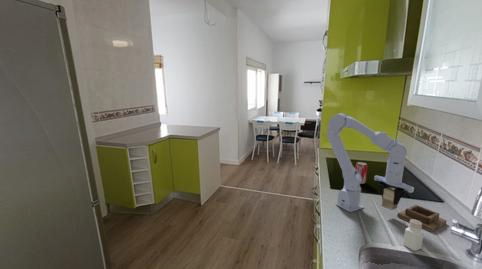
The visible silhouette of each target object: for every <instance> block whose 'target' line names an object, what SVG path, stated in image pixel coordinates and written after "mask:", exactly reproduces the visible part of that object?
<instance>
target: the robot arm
mask: <svg viewBox="0 0 482 269" xmlns="http://www.w3.org/2000/svg"><path fill="white" fill-rule="evenodd" d="M327 122H328V123H327V131H326V137H327V139H328V142H329V143H330V146H331V148H332V151H333V153H334V155H335V158H336V159H337V161H338V165H339V167H340V169H341V172H342V178H343V188H342V189H341V190H339V192H338V193H337V203H335V205H336V206H337V207H339V208H342V209H343V210H345V211H347V212H349V213H353V212H356V211H359V210H361V209H363V208H364V206H363V205H361V204H360V203H361V193H362V187H361V184H360V183H361V181H362V177H361V175H360V174H359V173H358V172H357V171H356V169H355V167H354V165H353V162H352V161H351V158H350V156H349V154H348V152H347V150H346V147H345V145H344V143H343V140H342V139H341V136H340V134H341V131H342V130H343V128H345V129H353V130H355V131H358V132H359V133H360V134H363V135H364V136H366V137H367V138H369V139H370V142H371V144H373V145H375V146H377V148H380V149H381V150H383V151H385V152H387V153H388V159H387V161H386V170H385V176H380V175H374V177H373V180H374V181H376V182H377V181H378V182H379V183H377V185H378V188H379V190H380V193H381V199H382V200H383V193H384V188H388V187H393V188H394V187H395V188H394V205H397V204H398V205H399V202H400V201H401V199H402V198H403V196H404V195H405V193H406V192H408V193H409V194H410V193H414V190H415V187H414V186H411V185H409V184H406V183H404V182H402V181H403V175H404V168H405V163H406V162H405V159H406V156H407V154H408V152H407V148H406V145H405V144H404V143H403V142H401V141H399V140H398V139H396V138H392V137H391V136H389V135H388V134H387V132H386V131H374V130H373V129H372V128H370V127H369V126H367V125H365V124H363V123H362V122H360V121H359V120H358V119H355V117H352V116H350V115H347V114H345V112H340V113H337V114H333V115H332V116H331V118H330V119H329V120H328V121H327ZM398 205H397V206H398Z"/></svg>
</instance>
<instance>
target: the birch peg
mask: <svg viewBox="0 0 482 269" xmlns="http://www.w3.org/2000/svg"><path fill="white" fill-rule="evenodd" d="M394 189H395V188H394V187H392V186H390V187H388V188H384V193H383V200H382V202H381V207H383V208H385V209H388V210H389V211H393V210H396V209H398V205H399V203H398V204H397V205H394Z"/></svg>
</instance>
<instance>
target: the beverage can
mask: <svg viewBox="0 0 482 269" xmlns="http://www.w3.org/2000/svg"><path fill="white" fill-rule="evenodd" d="M368 167H369V166H368V164H367V163H366V162H362V161H358V162H356V164H355V167H354V168H355V169H356V171H357V172H358V173H359V174H360V175H361V177H362V181H361V183H360V185H363V184H366V182H367V175H368V169H369V168H368Z"/></svg>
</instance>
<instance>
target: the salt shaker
mask: <svg viewBox="0 0 482 269" xmlns="http://www.w3.org/2000/svg"><path fill="white" fill-rule="evenodd" d="M408 224H409V225H408V226H407V227H406V228H405V230H404V234H403V235H404V236H403V241H402V242H403V243H402V244H403V245H404V247H406V248H408V249H410V250H412V251H414V252H417V251H418V250H420V249H421V250H422V246H423V245H422V244H423V240H424V232H423V231H422V230H421V229H422V228H421V227H422V223H421V222H420V221H418V220H415V219H411V220H410V222H409V223H408Z"/></svg>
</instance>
